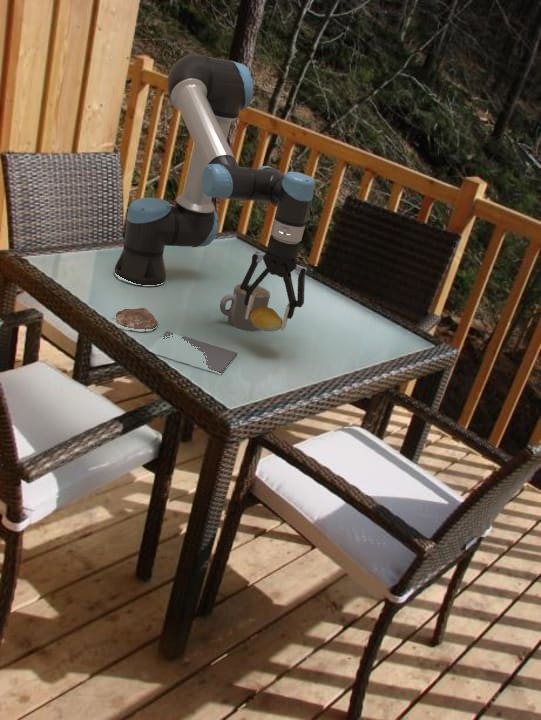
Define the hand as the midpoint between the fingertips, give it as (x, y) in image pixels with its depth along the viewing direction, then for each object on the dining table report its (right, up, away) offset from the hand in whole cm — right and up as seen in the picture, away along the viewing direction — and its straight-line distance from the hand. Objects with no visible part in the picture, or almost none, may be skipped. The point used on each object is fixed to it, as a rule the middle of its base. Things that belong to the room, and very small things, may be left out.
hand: (265, 322), depth 182 cm
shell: (-34, 0, +3) cm, 34 cm away
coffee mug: (-7, +1, +18) cm, 19 cm away
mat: (-18, -8, -6) cm, 20 cm away
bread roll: (0, -1, 0) cm, 1 cm away
